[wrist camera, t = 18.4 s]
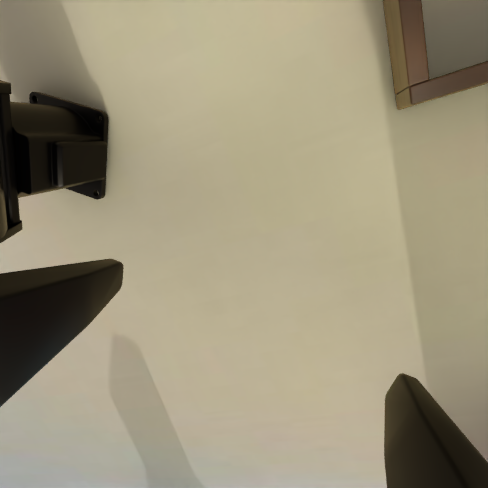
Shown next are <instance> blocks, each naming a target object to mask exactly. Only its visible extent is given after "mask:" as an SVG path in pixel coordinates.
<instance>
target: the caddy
mask: <svg viewBox="0 0 488 488" xmlns="http://www.w3.org/2000/svg"><path fill="white" fill-rule="evenodd" d="M383 5H384V13H385V21H386V28H387V36H388V43H389V51H390V58H391V66H392V73H393V81H394V89H395V94H397V95H396V103H397V109H398V110H400V109H404V108H407V107H410V106H414V105H417V104H420V103H424V102H427V101H430V100H434V99H437V98H440V97H444V96H447V95H450V94H454V93H457V92H460V91H464V90H467V89H470V88H474V87H477V86H480V85H484V84H487V83H488V61H486V62H483V63H480V64H477V65H474V66H471V67H467V68H464V69H461V70H458V71H455V72H452V73H449V74H446V75H443V76H440V77H436V78H433V79H430V80H429V71H428V61H427V51H426V41H425V32H424V22H423V12H422V2H421V0H383Z"/></svg>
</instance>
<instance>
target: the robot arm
mask: <svg viewBox="0 0 488 488" xmlns="http://www.w3.org/2000/svg"><path fill="white" fill-rule="evenodd" d="M9 94H11V83H8V82H5V81H1V80H0V243H1V242H3V241H5V240H6V239H8V238H9V237H11V236H13V235H14V234H16V233H17V232H19V231H20V230H22V221H21V220H20V215H19V203H18V198H20V197H25V196H30V195H34V194H39V193H44V192H49V191H53V190H58V189H63V188H66V189H69V190H72V191H75V192H77V193H80V194H83V195H86V196H89V197H91V198H94V199H101V198H103V197H104V196H105V185H106V162H107V139H108V116H107V114H106V113H105V112H103V111H101V110H97V109H94V108H91V107H87V106H84V105H80V104H77V103H74V102H70V101H67V100H63V99H60V98H57V97H53V96H50V95H46V94H43V93H39V92H31V93H30V96H29V100H30V103H19V102H10V95H9ZM37 99H38V101H37ZM100 116H101V121H100V119H99V117H100ZM97 191H98V192H99V194H98V193H97ZM122 280H123V264H122V263H121V262H119V261H117V260H114V259H104V260H97V261H90V262H82V263H75V264H68V265H60V266H53V267H46V268H38V269H31V270H24V271H16V272H9V273H2V274H0V407H1V406H2V405H3V404H4V403H5V402H6V401H7V400H8V399H9V398H10V397H12V396H13V395H14V394H15V393H16V392H17V391H18V390H19V389H20V388H21V387H22V386H23V385H24V384H26V383H27V382H28V381H29V380H30V379H31V378H32V377H33V376H34V375H35V374H36V373H37V372H38V371H40V370H41V369H42V368H43V367H44V366H45V365H46V364H47V363H48V362H49V361H50V360H51V359H52V358H54V357H55V356H56V355H57V354H58V353H59V352H60V351H61V350H62V349H63V348H64V347H65V346H66V345H68V344H69V343H70V342H71V341H72V340H73V339H74V338H75V337H76V336H77V335H78V334H79V333H80V332H82V331H83V330H84V329H85V328H86V327H87V326H88V325H89V324H90V323H91V322H92V321H93V320H94V318H95V317H96V316H97V315H98V314H99V313H100V312H101V311H102V309H103V308H104V307H105V306H106V305H107V304H108V303H109V301H110V300H111V299H112V298H113V297H114V296H115V295H116V293H117V292H118V291H119V290H120V288H121V286H122ZM384 456H385V469H386V480H387V488H488V462H487V461H486V460H485V459H484V458H483V456H482V455H481V454H480V453H479V452H478V450H477V449H476V448H475V447H474V446H473V445H472V443H471V442H470V441H469V440H468V439H467V437H466V436H465V435H464V434H463V433H462V432H461V430H460V429H459V428H458V427H457V426H456V424H455V423H454V422H453V421H452V420H451V419H450V417H449V416H448V415H447V414H446V413H445V411H444V410H443V409H442V408H441V407H440V406H439V404H438V403H437V402H436V401H435V400H434V398H433V397H432V396H431V395H430V394H429V393H428V391H427V390H426V389H425V388H424V387H423V385H422V384H421V383H420V382H419V381H418V380H417V379H416V378H414V377H411V376H409V375H406V374H403V373H402V374H399V375H398V376H397V378H396V379H395V381H394V382H393V384H392V386H391V387H390V389H389V390H388V392H387V394H386V398H385V436H384Z"/></svg>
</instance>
